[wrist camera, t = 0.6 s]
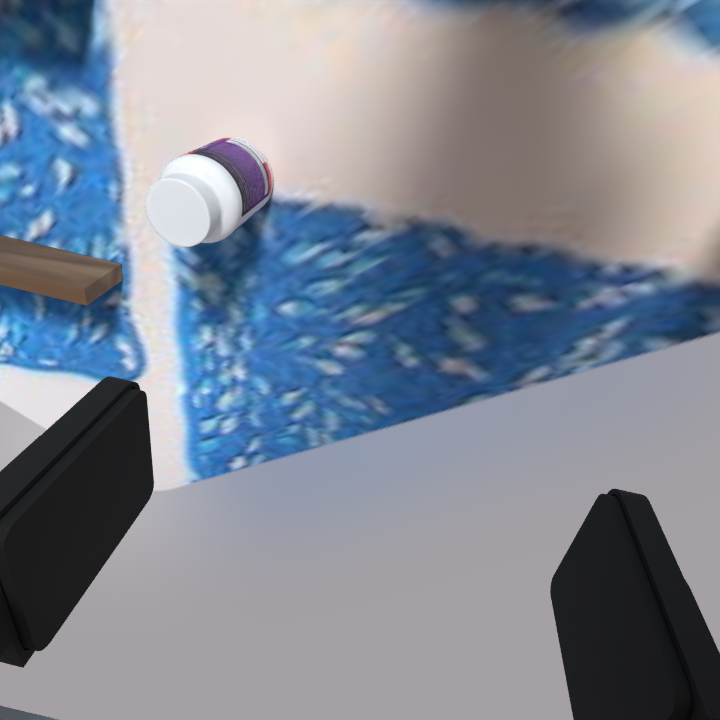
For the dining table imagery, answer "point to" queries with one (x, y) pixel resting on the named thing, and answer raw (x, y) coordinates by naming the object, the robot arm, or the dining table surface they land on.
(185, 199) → the pill bottle
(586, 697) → the robot arm
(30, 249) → the box
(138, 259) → the dining table surface
